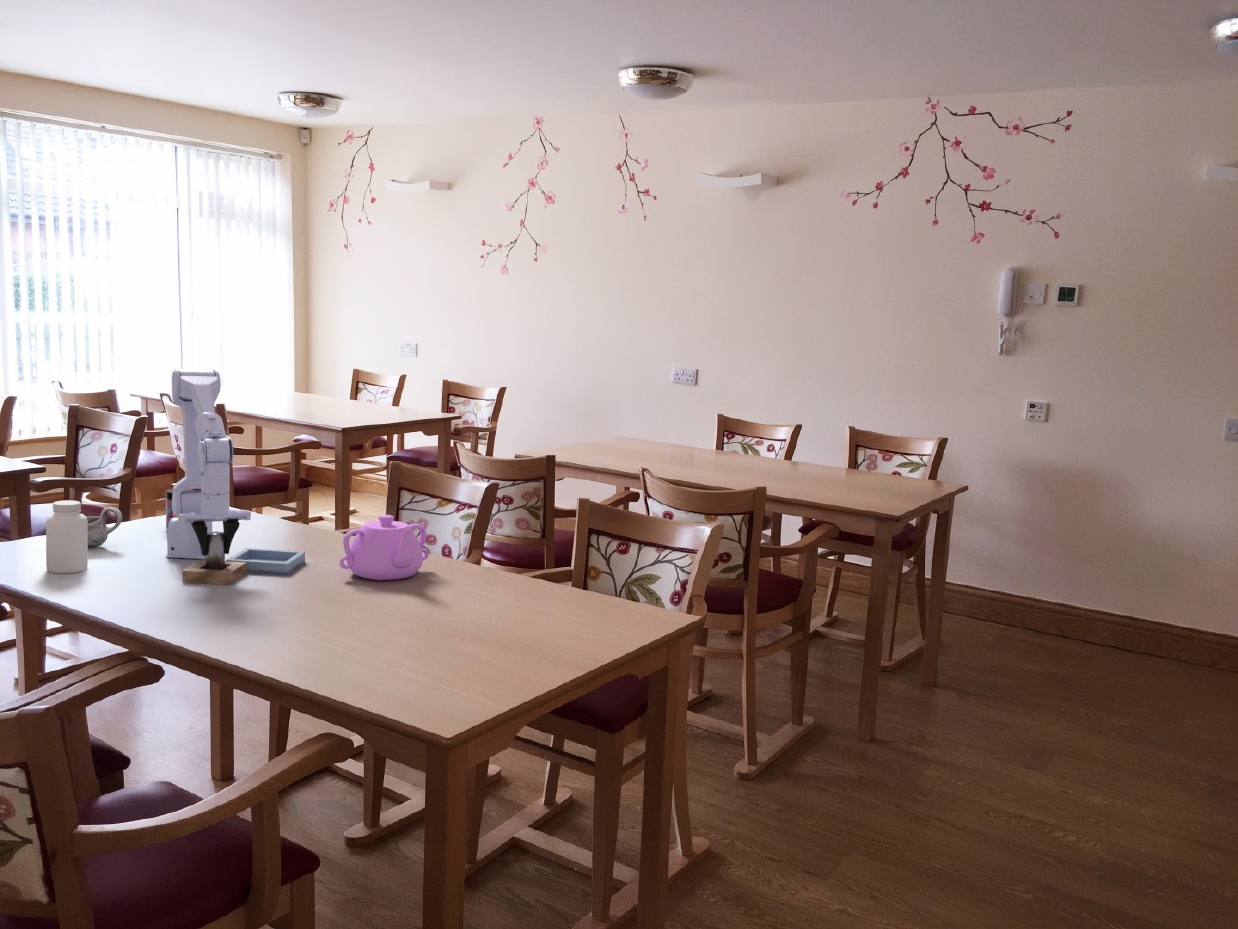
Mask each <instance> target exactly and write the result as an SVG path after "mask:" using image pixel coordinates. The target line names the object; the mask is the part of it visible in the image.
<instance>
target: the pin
mask: <svg viewBox="0 0 1238 929" xmlns="http://www.w3.org/2000/svg"><path fill="white" fill-rule="evenodd" d="M206 543H207V556H205V559H204V560H205V569H212V570H223V569H225V561H226V554H225V533H224V531H212V532H207V540H206Z"/></svg>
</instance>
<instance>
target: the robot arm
mask: <svg viewBox="0 0 1238 929" xmlns="http://www.w3.org/2000/svg"><path fill="white" fill-rule="evenodd" d="M220 374H221V373H219V371H218V370H217V369H212V370H211V369H179V368H175V369H174V370H173V371H172V374H171V398H172V401H173V404H174V406H178V407H179V408H180V410H181V414H182V423H183V424H182V425H183V428H182V429H183V448H184V449H183V453H184V454H183V455H184V477H182V478H181V479H180V480H179V481H177V482H176V483H175V484H174V485H173V487H172V489H173V495H172V511H173V515H174V516H175V518H172V519H171V520H170V522H169V524H168V529H166V530H167V532H166V534H167V535H166V539H167V543H166V546H167V547H166V548H167V549H166V551H167V552H166V554H165V557H167V558H176V559H177V558H178V559H179V558H180V559H194V560H195V559H197V560H205V556H207V543H206V540H207V532H213V523H214V522H222V526H223V530H222V531H223V532H224V533H225V555H229V554H230V550H231V549H230V548H231V546H232V542H233V540H234V537H235V535H236V533H237V531H238V529H239V528H240V522H239V521H251V520H252V518H251V517H252V512H251V511H250V510H249V509H247V510H246V509H243V510H242V509H241V510H239V509H230V484H231V483H230V480H231V479H230V477H231V476H230V473H231V471H230V465H231V464H232V463H233V461H234V446H233V440H232V438H231V436H229V434H227V432H226V430H225V425H224V422H223V418H222V417H221V416H220V415H219V414H217V413H216V410H215V408H216V407H215V402H216V401H217V399H218V396H219V394H220V392H221V375H220ZM185 489H192V490H194V491H183V490H185ZM195 489H196V490H195ZM197 489H200V490H197Z"/></svg>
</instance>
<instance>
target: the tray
mask: <svg viewBox="0 0 1238 929" xmlns="http://www.w3.org/2000/svg"><path fill="white" fill-rule="evenodd" d="M225 561H231V562H247V563H246V573H255V574H257V573H258V574H270V575H285V576H289V575H290V574H291V573H293V571H295V570H297V569H298V568H299V567H301V566H302V565H303V564H304V563H306V551H297V550H283V549H282V550H281V549H265V548H251V547H250V548H249V547H246V548H244V549H243V550H241V551H239V552H237V553H235V554H234V555H232V556H230V557H229V558H227V559H225Z"/></svg>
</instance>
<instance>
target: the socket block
mask: <svg viewBox="0 0 1238 929" xmlns="http://www.w3.org/2000/svg"><path fill="white" fill-rule="evenodd" d="M246 563H247V562H231V561H226V560H225V569H223V570H212V569H205V559H200V560H199V561H197V562H195V563H194V564H192V565H190V566H188V567H186V568H184V569H182V570H181V571H182V572H181V576H182V580H181V582H182V583H193V584H194V583H195V584H210V585H226V586H229V585H231V584H232V583H234V582H235V581H237V580H238V579H240V578H242V577H243V576H245V575H247V572H246Z"/></svg>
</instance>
